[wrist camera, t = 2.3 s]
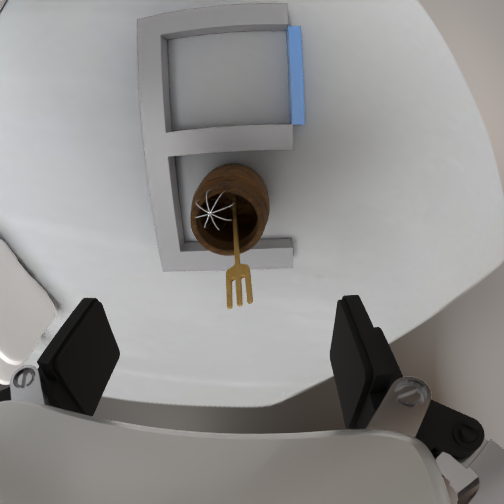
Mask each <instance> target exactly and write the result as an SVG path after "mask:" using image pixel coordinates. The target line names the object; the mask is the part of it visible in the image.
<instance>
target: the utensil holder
mask: <svg viewBox="0 0 504 504" xmlns="http://www.w3.org/2000/svg"><path fill="white" fill-rule="evenodd" d="M268 216H269V199H268V193H267V189H266V186H265V184H264V182H263V180H262V178H261V177H260V176H259V175H258V174H257V173H256V172H255V171H254V170H252V169H251V168H249V167H247V166H244V165H240V164H226V165H222V166H220V167H217V168H216V169H214V170H212V171H211V172H210V173H209V174H208V175H207V176H206V177H205V178H204V179H203V181H202V182H201V184H200V185H199V187H198V188H197V190H196V192H195V194H194V197H193V201H192V209H191V228H192V231H193V234H194V236H195V237H196V239H197V240H198V242H199V243H200V244H201V245H202V246H203V247H204V248H206V249H207V250H209V251H211V252H213V253H215V254H219V255H224V256H233V255H234V257H235V264H234V266H232V267H231V268H230V269H228V270H227V271H226V290H227V308H228V309H231V308H232V281H233V280H236V294H237V305H238V306H242V304H243V303H242V284H241V279H242V278H244V277H245V282H246V293H247V302H248V303H249V304H251V303H252V302H253V297H252V286H251V275H250V267H249V266H248V265H247V264H240V254H241V253H244V252H246V251H248V250H250V249H251V248H252V247H253V246H254V245H255V244H256V243H257V242H258V241H259V239H260V238H261V236H262V234H263V231H264V229H265V225H266V223H267V220H268Z"/></svg>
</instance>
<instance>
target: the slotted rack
mask: <svg viewBox="0 0 504 504" xmlns="http://www.w3.org/2000/svg"><path fill="white" fill-rule="evenodd" d="M288 25H289V22H288V8H287V4H286V3H256V4H235V5H222V6H211V7H203V8H195V9H188V10H182V11H176V12H170V13H165V14H160V15H155V16H150V17H146V18H142V19H138V20H137V54H138V81H139V98H140V112H141V124H142V135H143V145H144V154H145V163H146V171H147V178H148V186H149V193H150V200H151V206H152V213H153V219H154V225H155V231H156V237H157V242H158V248H159V253H160V258H161V264H162V269H163V272H168V271H209V270H228V269H230V268H231V267H232V266H234V264H235V257H234V255H233V256H224V255H219V254H215V253H213V252H211V251H209V250H207V249H206V248H204V247H203V246H202V245H201V244H200V243H199V242H185V240H184V233H183V226H182V219H181V211H180V203H179V195H178V186H177V177H176V168H175V158H174V156H180V155H191V154H203V153H217V152H233V151H255V150H294V149H293V125H305V112H304V80H303V58H302V40H301V26H288ZM268 30H281V31H286V37H287V56H288V77H289V104H290V124H257V125H235V126H220V127H207V128H196V129H186V130H177V131H172V124H171V110H170V95H169V77H168V52H167V40H169V39H175V38H182V37H188V36H196V35H204V34H213V33H224V32H239V31H268ZM240 264H247V265H248V266H249V267H250V269H273V268H293V245H292V241H291V238H290V239H260V240H259V241H258V242H257V243H256V244H255V245H254V246H253V247H252V248H251V249H250V250H248V251H246V252H244V253H241V254H240Z"/></svg>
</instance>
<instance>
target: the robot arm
mask: <svg viewBox="0 0 504 504" xmlns="http://www.w3.org/2000/svg"><path fill="white" fill-rule="evenodd" d="M5 2H6V0H0V11H1V9H2V7H3V5H4V4H5ZM119 356H120V351H119V348H118V346H117V343H116V340H115V338H114V335H113V333H112V330H111V327H110V325H109V322H108V319H107V317H106V314H105V311H104V308H103V305H102V303H101V302H99V301H98V299H96V298H84V299H82V301H81V302H80V303H79V304H78V306H77V307H76V308H75V310H74V311H73V312H72V314H71V315H70V316H69V318H68V319H67V320H66V322H65V323H64V324H63V326H62V327H61V328H60V330H59V331H58V332H57V334H56V335H55V337H54V338H53V339H52V341H51V342H50V344H49V345H48V346H47V348H46V349H45V351H44V352H43V354H42V355H41V356H40V358H39V359H38V361H37V363H38V365H39V368H38V369H37V368H36V367H35V366H32V365H26V366H22V367H20V368H19V369H17V370H16V371H15V372H14V373H13V375H12V377H11V379H10V387H9V388H6V389H4V390H2V391H0V504H451V502H450V499H449V495H448V492H447V489H446V485H445V482H444V480H443V477H446V478H447V479H448V480H449V481H450V482H451V483H450V485H451V487H453V488H454V490H455V491H456V492H457V495H458V501H457V504H504V449H502V448H501V447H500V446H499V445H498V444H497V443H495V442H494V441H493V440H492V439H490V440H489V441H487V440H486V439H485V438H484V430H483V428H482V425H481V424H480V423H479V422H478V421H477V420H475V419H474V418H471V417H469V416H467V415H464V414H462V413H460V412H457V411H455V410H453V409H451V408H449V407H446V406H444V405H442V404H440V403H438V402H435V401H433V400H431V396H432V395H431V390H430V388H429V386H428V385H427V384H426V383H425V382H424V381H423V380H421V379H419V378H415V377H403V375H402V373H401V371H400V369H399V366H398V364H397V362H396V360H395V357H394V355H393V353H392V351H391V349H390V346H389V344H388V342H387V340H386V338H385V336H384V334H383V332H382V330H381V328H379V327H375V328H374V327H373V325H372V322H371V320H370V318H369V316H368V314H367V312H366V310H365V307H364V305H363V303H362V301H361V299H360V297H359V295H348V296H343V298H342V300H338V302H337V309H336V316H335V323H334V330H333V336H332V343H331V349H330V361H331V365H332V369H333V374H334V378H335V382H336V386H337V391H338V395H339V399H340V404H341V408H342V413H343V418H344V423H345V427H346V429H348V430H334V431H320V432H306V433H282V434H225V433H224V434H221V433H205V432H192V431H180V430H171V429H162V428H154V427H147V426H140V425H134V424H128V423H123V422H117V421H112V420H107V419H102V418H97V417H93V414H94V412H95V410H96V408H97V405H98V403H99V401H100V399H101V396H102V394H103V392H104V390H105V387H106V385H107V383H108V381H109V379H110V376H111V374H112V372H113V370H114V368H115V366H116V363H117V361H118V359H119Z"/></svg>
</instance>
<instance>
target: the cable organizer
mask: <svg viewBox="0 0 504 504" xmlns="http://www.w3.org/2000/svg"><path fill="white" fill-rule="evenodd" d="M48 296H49V295H48V293H47V292H46V291H45V290H44V289H43V288H42V287H41V286H40V285H39V284H38V282H37V281H36V280H35V279H34V278H32V277H31V276H30V275H29V274H28V273H27V271H26V270H25V269H24V268H23V267H22V265H21V264H20V263H19V262H18V259H17V257H16V256H15V254H14V253H13V252H12V251H11V249H10V248H9V247H8V245H7V244H6V243H5V242H4V241H2V240H1V239H0V383H1V384H4V385H7V384H10V379H11V377H12V375H13V373H14V372H15V371H16V370H17V369H19V368H20V367H22V366H23V365H24V364H25V362H26V361H27V359H28V358H29V356H30V355H31V353H32V352H33V350H34V349H35V347H36V346H37V344H38V342H39V339H40V337H41V336H42V334H43V333H44V332H45V330H46V329H47V328H48V326H49V325H50V323H51V322H52V321H53V319H54V318H55V316H56V310H55V306H54V304H53V302H52V300H51V299H50V298H49V297H48Z"/></svg>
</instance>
